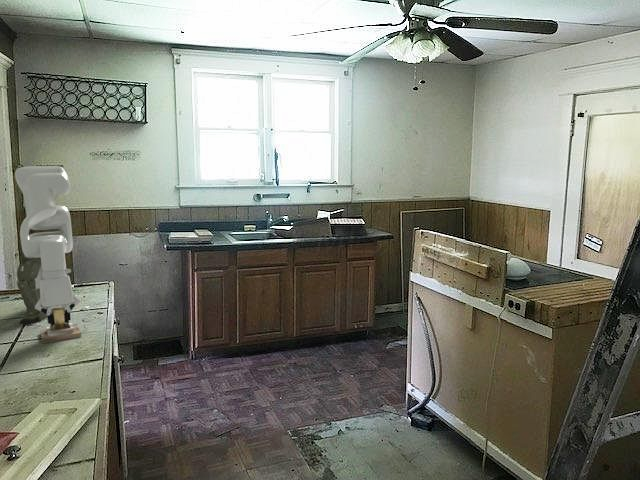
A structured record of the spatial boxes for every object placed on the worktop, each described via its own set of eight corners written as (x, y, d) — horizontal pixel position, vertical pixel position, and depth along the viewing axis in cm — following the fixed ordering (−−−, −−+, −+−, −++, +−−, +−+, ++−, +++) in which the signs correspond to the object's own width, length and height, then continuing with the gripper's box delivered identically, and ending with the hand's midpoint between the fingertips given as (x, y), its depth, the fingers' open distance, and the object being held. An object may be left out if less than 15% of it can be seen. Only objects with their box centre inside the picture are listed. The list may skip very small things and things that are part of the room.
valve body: (52, 326, 183) (50, 308, 182) (66, 324, 185) (64, 306, 184) (53, 330, 179) (51, 311, 178) (67, 328, 181) (65, 309, 180)
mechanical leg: (25, 325, 190) (31, 245, 192) (8, 324, 192) (15, 244, 194) (51, 322, 204) (57, 247, 206) (36, 321, 205) (41, 246, 207)
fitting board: (40, 334, 184) (39, 326, 183) (77, 327, 190) (76, 320, 190) (43, 343, 175) (42, 335, 174) (81, 336, 181) (80, 328, 181)
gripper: (79, 268, 186) (83, 316, 189) (26, 274, 177) (31, 325, 181) (82, 272, 180) (86, 322, 183) (27, 279, 171) (33, 331, 174)
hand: (59, 323), depth 182 cm, fingers closed on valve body, 4 cm apart
